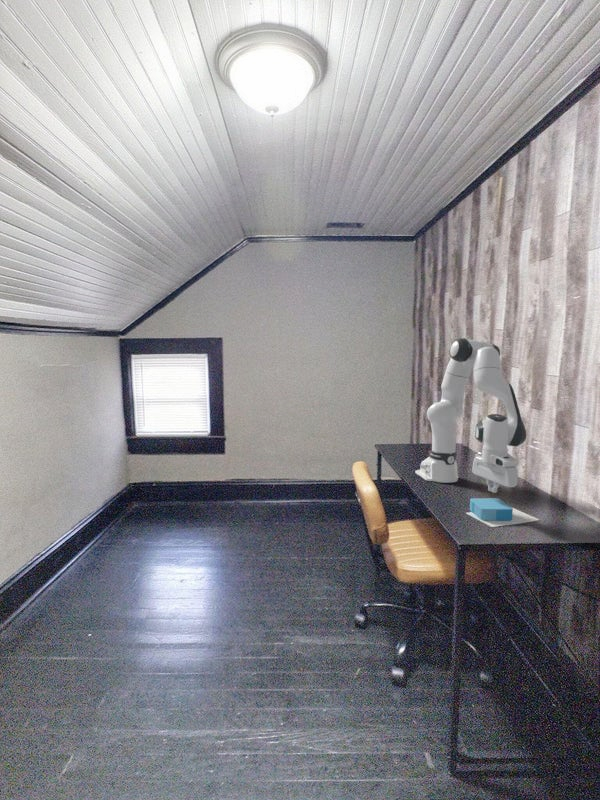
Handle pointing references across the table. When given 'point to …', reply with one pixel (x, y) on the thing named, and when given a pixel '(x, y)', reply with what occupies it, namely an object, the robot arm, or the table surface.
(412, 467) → the table surface
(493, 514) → the data package
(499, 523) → the mat
